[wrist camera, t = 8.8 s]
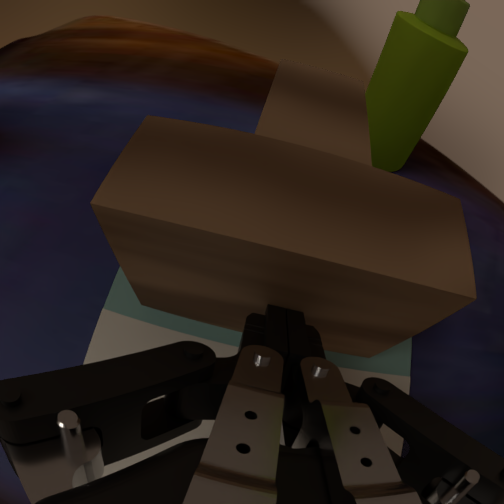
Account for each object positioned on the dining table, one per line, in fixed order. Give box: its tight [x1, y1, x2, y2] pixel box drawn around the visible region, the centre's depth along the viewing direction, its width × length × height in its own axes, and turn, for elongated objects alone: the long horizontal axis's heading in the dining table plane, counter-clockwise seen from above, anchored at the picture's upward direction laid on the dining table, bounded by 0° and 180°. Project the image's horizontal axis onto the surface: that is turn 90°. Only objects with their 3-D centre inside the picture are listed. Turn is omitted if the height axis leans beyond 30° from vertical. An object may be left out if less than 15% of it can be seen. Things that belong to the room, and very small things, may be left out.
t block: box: [90, 59, 477, 358], centre depth 16 cm, size 12×13×9 cm
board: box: [83, 266, 412, 478], centre depth 16 cm, size 30×18×1 cm, turn 168°
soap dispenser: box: [365, 0, 470, 172], centre depth 19 cm, size 6×7×20 cm
